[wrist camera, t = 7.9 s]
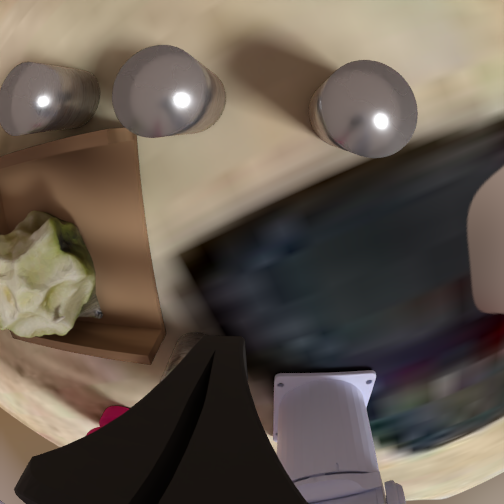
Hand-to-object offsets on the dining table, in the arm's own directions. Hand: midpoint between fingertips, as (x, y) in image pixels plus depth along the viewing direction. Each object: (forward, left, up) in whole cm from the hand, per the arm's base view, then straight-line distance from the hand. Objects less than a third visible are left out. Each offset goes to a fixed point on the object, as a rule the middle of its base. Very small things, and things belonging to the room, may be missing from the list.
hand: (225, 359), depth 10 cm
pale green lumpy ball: (-1, +14, -10) cm, 17 cm away
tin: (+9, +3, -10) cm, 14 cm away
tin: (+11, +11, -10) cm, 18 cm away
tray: (+1, +13, -10) cm, 16 cm away
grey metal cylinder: (+8, -5, -10) cm, 14 cm away
